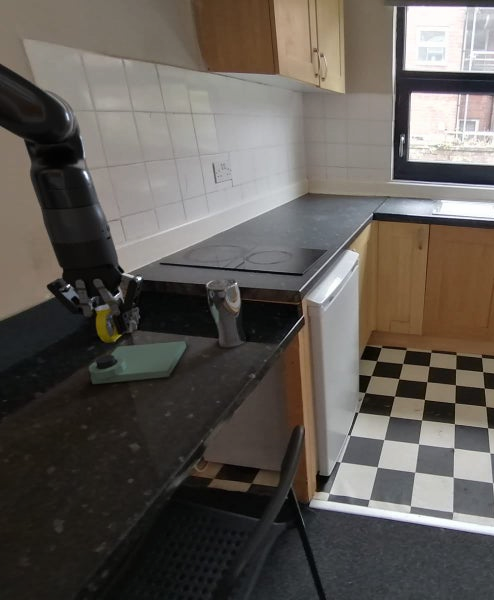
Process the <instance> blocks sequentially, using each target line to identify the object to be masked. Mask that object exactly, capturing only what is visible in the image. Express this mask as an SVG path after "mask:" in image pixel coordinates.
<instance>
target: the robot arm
mask: <svg viewBox="0 0 494 600" xmlns="http://www.w3.org/2000/svg"><path fill="white" fill-rule="evenodd" d="M0 127H1V128H2V129H5V131H8V132H10V133H12V134H13V135H15V136H17V137H18V138H20V139H22V140H23V142H24V146H25V148H26V151H27V154H28V157H29V160H30V168H29V177H30V182H31V185H32V187H33V190H34V193H35V195H36V196H35V197H36V200H37V202H38V205H39V207H40V211H41V216H42V220H43V221H42V222H43V224H44V225H43V226H44V227H45V230H46V233H47V237H48V238H49V241H50V245H51V247H52V250H53V252H54V255H55V258H56V261H57V263H58V266H59V268H61V269H62V273H61V277H59V278H57V279H55V280H53V281H51V282H49V283H47V285H46V289H47V290H48V291H49V292H50V293H51V294H52V295H53V296H54V297H55V298H56V299H57V300H58V301H59V302H60V303H61V304H62V305H63V307H65V308H66V309H67V311H68V312H70V313H71V314H72V315H83V316H84V317H86V319H87V321H88V324H89V327H90V330H91V332H92V333H93V334H95V335H96V336H97V337H99V335H98V333H97V329H96V317H97V313H96V311H95V308H97V307H99V306H100V302H99V299H100V297H101V298H102V300H103V303H104V304H105V305H106V304H108V306H109V308H110V310H111V312H112V313H113V316H112V318H113V322H114V324H115V327H116V330H117V333H118V335H121V336H124V335H125V334H127V333H126V332H127V331H128V329H129V328H130V322H129V319H130V318H129V319H128V316H127V312H128V311H130V310H131V309H134V307H136V306H137V304H138V302H139V298H140V294H141V290H142V286H143V282H144V276H143V275H142V274H136V275H132V274H129V273H127V272H125V270H124V268H123V267H122V266H121V265H120V263H119V257H118V253H117V249H116V246H115V243H114V239H113V237H112V233H111V227H110V224H109V223H108V220H107V216H106V215H105V212H104V210H103V208H102V206H101V203H100V201H99V197H98V193H97V190H96V187H95V183H94V180H93V177H92V175H91V173H90V170H89V167H88V163H87V157H86V152H85V151H86V150H85V145H84V141H83V137H82V132H81V127H80V124H79V121H78V117H77V115H76V112H75V111H74V109H73V108H72V106H71V105H70V103H69V102H68V101H66V99H64V98H63V97H62V96H61V95H58V94H57V93H55V92H53V91H50V90H47V89H44V88H43V87H40V86H39V85H37V84H36V83H34V82H32V81H30V80H29V79H27V78H25V77H24V76H22V75H21V74H19V73H18V72H15V71H14V70H12V69H11V68H9V67H7V66H6V65H4V64H2V63H0ZM122 281H123V285H124V288H125V289H126V293H125V297H123V291H122V289H121V287H120V285H121V284H122ZM72 288H73V289H72ZM106 327H107V326H106Z"/></svg>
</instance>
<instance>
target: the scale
mask: <svg viewBox="0 0 494 600" xmlns="http://www.w3.org/2000/svg"><path fill="white" fill-rule="evenodd" d="M186 348H187V344H186V341H172V342H171V341H170V342H158V343H145V344H135V345H123V346H117V347H116V348H115V349H114V350H113V352H112V353H111V354H110V355H113V356H114V358H115V361H116V364H115V365H114V366H112V367H109V368H106V369H99V368H98V366H97V363H96V361H95V362H93V363H91V364H90V365H89V367H88V371H89V374H90V380H91V384H92V385H98V384H108V383H117V382H119V383H120V382H127V381H128V382H130V381H138V380H148V379H149V380H150V379H160V378H169V377H170V376H171V374H172V373H173V370H174V369H175V368H176V365H177V364H178V362H179V361H180V359H181V357H182V355H183V354H184V352H185V350H186Z"/></svg>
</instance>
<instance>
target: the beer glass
mask: <svg viewBox="0 0 494 600" xmlns="http://www.w3.org/2000/svg"><path fill="white" fill-rule="evenodd" d="M205 292H206V301H207V305H208V309H209V312H210V314H211V317H212V319H213V322H214V324H215V326H216V329H217V332H218V333H217V334H218V345H219V346H220V347H222V348H234V347H238V346H241V345H243V344H244V343H245V342H246V341H247V337H246V333H245V332H244V329H243V303H242V297H241V291H240V288H239V285H238V280H236V279H234V278H229V277H227V278H226V277H225V278H217V279H213V280H210V281H209V282H207V283H206V284H205Z"/></svg>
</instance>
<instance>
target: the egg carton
mask: <svg viewBox="0 0 494 600" xmlns="http://www.w3.org/2000/svg"><path fill="white" fill-rule="evenodd" d="M134 307H135V308H132V309H131V310H130V311H128V312H127V316H128V319H129V322H130V328H129V329H128V331H127V332H126V333H125V334H130V333H132V332H133V331H136V330H138V325H139V320H140V319H141V316H140V309H139V307H137V306H134ZM106 326H107V331H108V334H109V336H110V337H111V336H112V335H113V333H114V329H115V328H114V321H113V318H112V314H111V313H108V314H107V317H106Z"/></svg>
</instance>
